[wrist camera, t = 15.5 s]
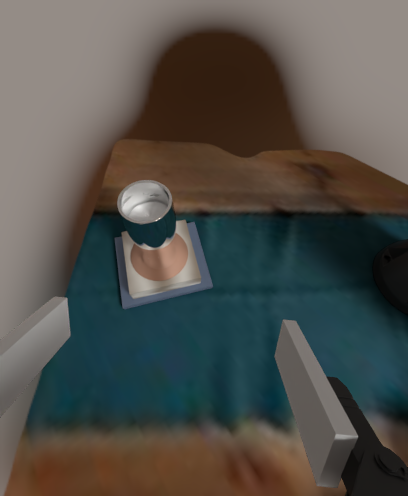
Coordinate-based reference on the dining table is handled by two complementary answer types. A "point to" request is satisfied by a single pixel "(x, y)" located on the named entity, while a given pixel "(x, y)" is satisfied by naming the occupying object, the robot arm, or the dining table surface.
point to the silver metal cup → (150, 221)
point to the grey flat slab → (130, 302)
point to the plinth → (159, 281)
